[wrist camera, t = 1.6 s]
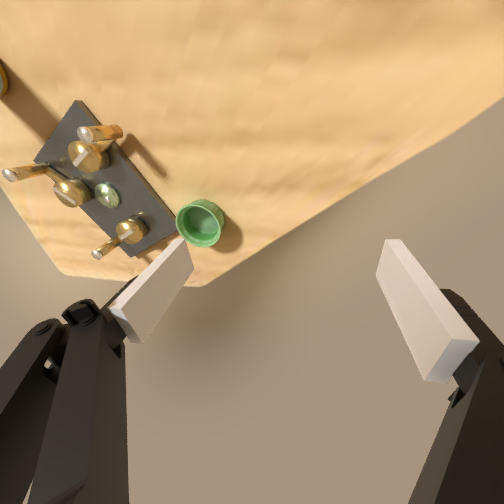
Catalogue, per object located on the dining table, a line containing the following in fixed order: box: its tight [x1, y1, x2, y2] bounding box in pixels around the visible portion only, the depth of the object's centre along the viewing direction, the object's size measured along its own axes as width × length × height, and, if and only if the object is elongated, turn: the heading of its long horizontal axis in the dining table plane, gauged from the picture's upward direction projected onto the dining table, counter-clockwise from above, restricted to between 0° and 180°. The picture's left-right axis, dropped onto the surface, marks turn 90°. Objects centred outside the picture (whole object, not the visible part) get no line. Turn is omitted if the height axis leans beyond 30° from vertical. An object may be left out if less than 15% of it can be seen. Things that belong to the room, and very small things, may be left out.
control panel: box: [33, 100, 178, 257], centre depth 43 cm, size 26×18×2 cm
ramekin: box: [176, 200, 224, 247], centre depth 41 cm, size 9×9×4 cm
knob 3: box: [91, 217, 147, 260], centre depth 44 cm, size 11×5×7 cm, turn 122°
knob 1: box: [2, 162, 91, 208], centre depth 40 cm, size 10×5×7 cm, turn 52°
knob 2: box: [68, 125, 123, 173], centre depth 34 cm, size 10×5×7 cm, turn 122°
